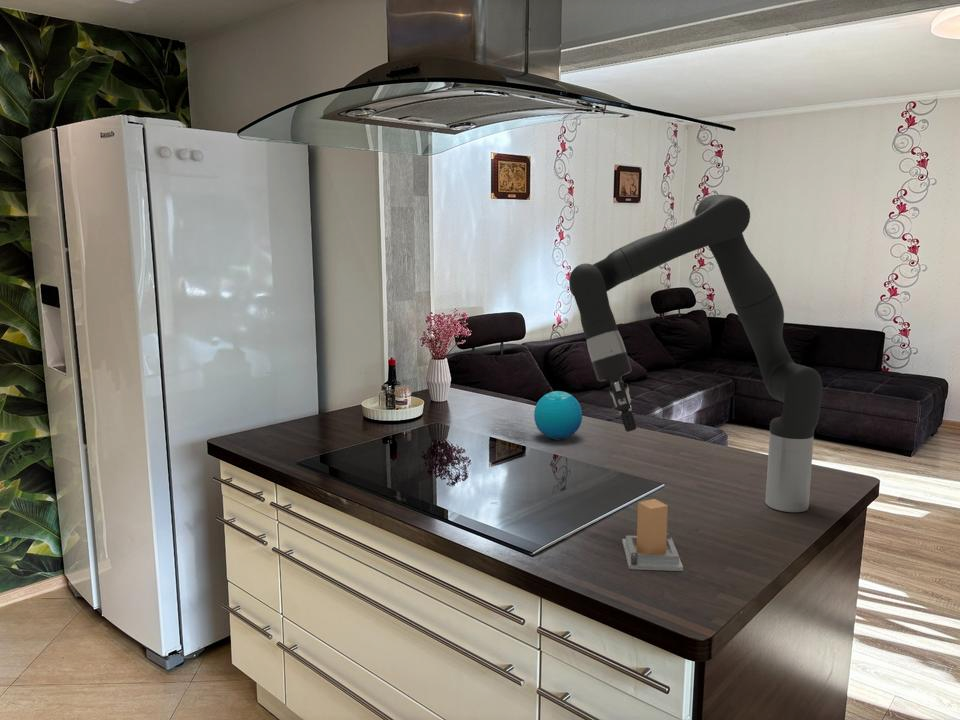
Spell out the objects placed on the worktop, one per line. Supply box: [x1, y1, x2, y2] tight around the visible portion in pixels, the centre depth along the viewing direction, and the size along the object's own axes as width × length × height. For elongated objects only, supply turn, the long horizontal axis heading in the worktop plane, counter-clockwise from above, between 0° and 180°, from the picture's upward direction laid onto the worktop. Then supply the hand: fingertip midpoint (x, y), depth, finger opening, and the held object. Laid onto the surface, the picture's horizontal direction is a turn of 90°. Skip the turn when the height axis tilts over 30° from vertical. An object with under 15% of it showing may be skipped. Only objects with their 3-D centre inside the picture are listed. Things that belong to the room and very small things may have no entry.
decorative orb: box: [533, 390, 583, 440], centre depth 219 cm, size 15×15×15 cm
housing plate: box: [621, 532, 684, 572], centre depth 138 cm, size 12×10×3 cm
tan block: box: [636, 498, 669, 554], centre depth 138 cm, size 4×4×10 cm
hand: (631, 429), depth 148 cm, fingers open, 8 cm apart
